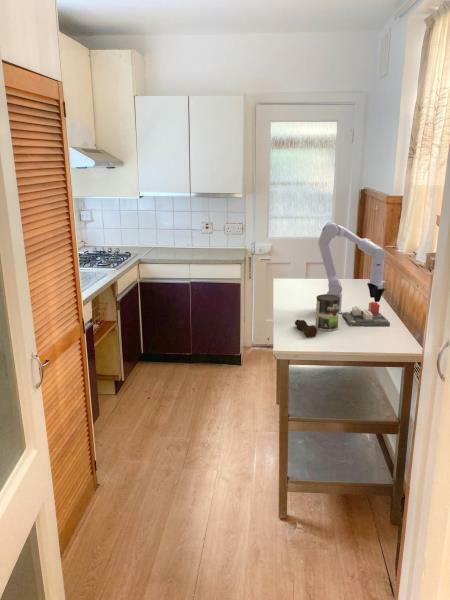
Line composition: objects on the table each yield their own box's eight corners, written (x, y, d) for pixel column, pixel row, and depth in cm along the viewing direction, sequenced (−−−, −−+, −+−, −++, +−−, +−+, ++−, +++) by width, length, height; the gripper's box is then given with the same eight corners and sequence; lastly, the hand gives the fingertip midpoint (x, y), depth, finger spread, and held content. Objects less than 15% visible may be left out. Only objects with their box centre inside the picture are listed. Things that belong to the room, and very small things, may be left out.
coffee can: (343, 328, 215) (345, 298, 211) (324, 332, 210) (326, 301, 206) (328, 322, 224) (330, 293, 220) (310, 325, 219) (311, 295, 215)
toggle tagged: (365, 320, 220) (366, 313, 219) (362, 317, 225) (363, 310, 224) (372, 320, 220) (372, 313, 219) (369, 317, 225) (369, 310, 224)
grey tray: (349, 325, 219) (350, 320, 218) (342, 315, 233) (342, 310, 232) (389, 326, 218) (390, 320, 218) (379, 315, 233) (380, 311, 232)
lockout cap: (370, 314, 235) (371, 303, 233) (368, 312, 239) (369, 301, 237) (378, 314, 235) (379, 303, 233) (376, 312, 239) (377, 301, 237)
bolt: (299, 330, 219) (312, 340, 205) (290, 325, 217) (303, 335, 203) (305, 319, 218) (319, 328, 204) (296, 314, 217) (310, 323, 203)
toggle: (354, 316, 226) (355, 309, 225) (351, 313, 231) (352, 306, 230) (360, 316, 226) (361, 309, 225) (358, 313, 231) (358, 306, 230)
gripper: (390, 275, 224) (387, 303, 228) (380, 269, 238) (378, 295, 242) (374, 275, 224) (372, 303, 228) (366, 269, 238) (364, 295, 242)
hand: (374, 299), depth 235 cm, fingers open, 7 cm apart
